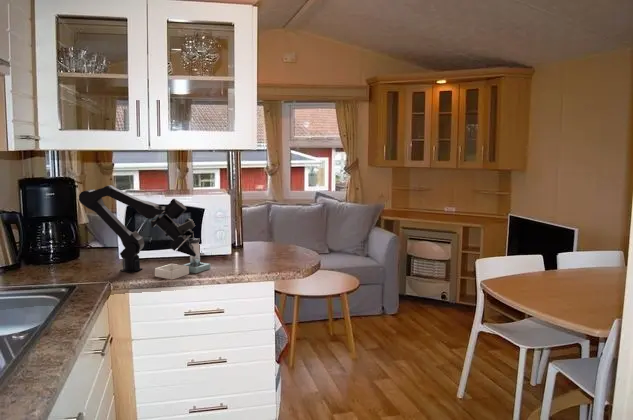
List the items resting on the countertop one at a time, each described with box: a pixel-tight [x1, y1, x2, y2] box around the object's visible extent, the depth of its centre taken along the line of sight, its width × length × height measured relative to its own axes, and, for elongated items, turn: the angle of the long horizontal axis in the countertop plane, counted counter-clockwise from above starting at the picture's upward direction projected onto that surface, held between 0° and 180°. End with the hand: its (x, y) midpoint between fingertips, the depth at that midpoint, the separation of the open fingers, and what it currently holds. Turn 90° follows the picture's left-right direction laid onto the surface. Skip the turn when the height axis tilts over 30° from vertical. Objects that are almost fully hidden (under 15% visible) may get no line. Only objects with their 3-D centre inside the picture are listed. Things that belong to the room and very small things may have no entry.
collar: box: [183, 261, 211, 274], centre depth 213 cm, size 9×9×2 cm
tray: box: [154, 263, 190, 280], centre depth 205 cm, size 10×10×3 cm
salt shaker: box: [188, 237, 201, 267], centre depth 212 cm, size 5×5×13 cm
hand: (197, 253), depth 212 cm, fingers open, 9 cm apart
